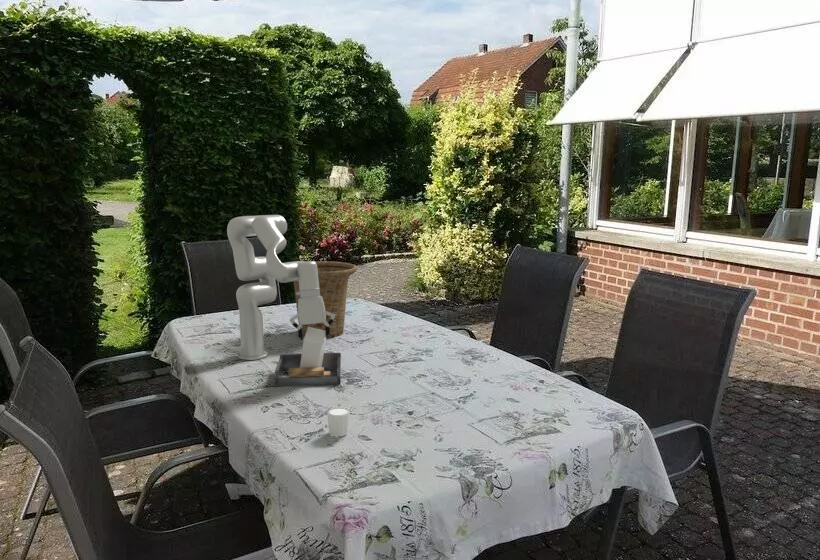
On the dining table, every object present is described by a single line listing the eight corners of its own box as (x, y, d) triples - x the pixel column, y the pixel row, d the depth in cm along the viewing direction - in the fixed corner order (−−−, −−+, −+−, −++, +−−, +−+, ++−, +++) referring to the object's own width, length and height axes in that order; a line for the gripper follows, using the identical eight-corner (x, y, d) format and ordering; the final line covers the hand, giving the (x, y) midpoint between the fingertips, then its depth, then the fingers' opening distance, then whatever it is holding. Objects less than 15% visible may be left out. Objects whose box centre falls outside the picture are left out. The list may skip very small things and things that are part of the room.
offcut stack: (286, 385, 233) (286, 371, 232) (288, 381, 238) (287, 367, 237) (330, 384, 235) (329, 370, 234) (330, 380, 239) (330, 366, 238)
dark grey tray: (275, 386, 231) (274, 368, 230) (280, 370, 249) (280, 353, 248) (340, 384, 234) (340, 366, 232) (340, 369, 251) (340, 352, 250)
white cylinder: (328, 428, 194) (327, 407, 192) (350, 428, 194) (349, 407, 193) (327, 438, 187) (326, 416, 186) (349, 437, 187) (349, 415, 186)
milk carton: (316, 378, 240) (323, 334, 234) (298, 374, 240) (305, 330, 234) (321, 371, 247) (327, 327, 241) (303, 367, 247) (310, 323, 241)
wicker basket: (371, 330, 312) (371, 265, 307) (326, 346, 283) (325, 274, 278) (318, 321, 331) (316, 259, 325) (270, 335, 302) (268, 267, 296)
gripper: (285, 297, 232) (290, 342, 234) (332, 292, 234) (337, 337, 235) (288, 295, 240) (293, 338, 241) (333, 290, 241) (337, 334, 243)
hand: (314, 338), depth 238 cm, fingers open, 9 cm apart
